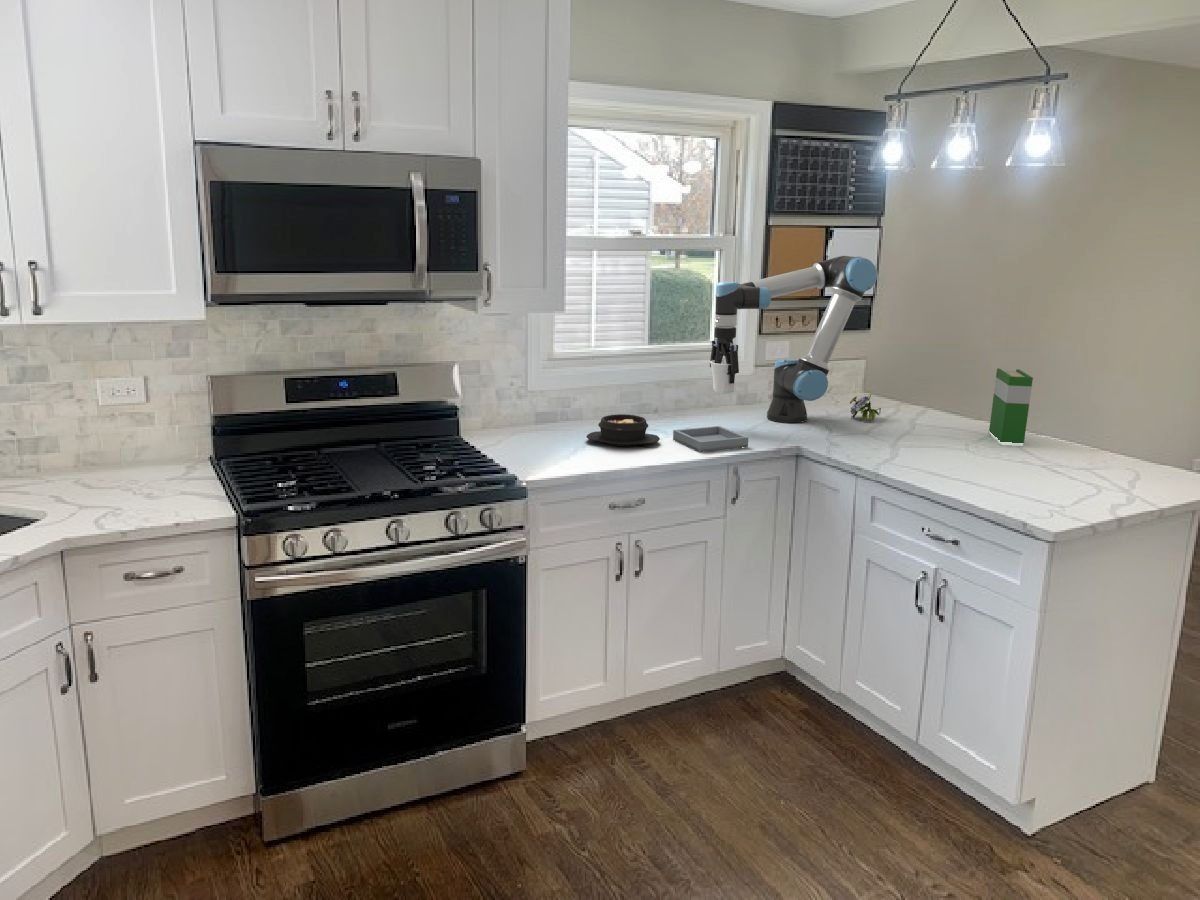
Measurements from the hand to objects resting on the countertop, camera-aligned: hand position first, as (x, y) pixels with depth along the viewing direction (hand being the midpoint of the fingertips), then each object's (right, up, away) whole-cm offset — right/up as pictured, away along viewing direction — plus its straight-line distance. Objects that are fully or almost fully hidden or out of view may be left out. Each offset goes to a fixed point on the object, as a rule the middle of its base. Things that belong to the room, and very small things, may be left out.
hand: (723, 390), depth 321 cm
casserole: (-36, -19, -16) cm, 44 cm away
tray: (-7, -19, -16) cm, 26 cm away
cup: (0, -1, 0) cm, 1 cm away
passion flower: (+58, -10, +25) cm, 64 cm away
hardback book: (+99, -18, -5) cm, 101 cm away
